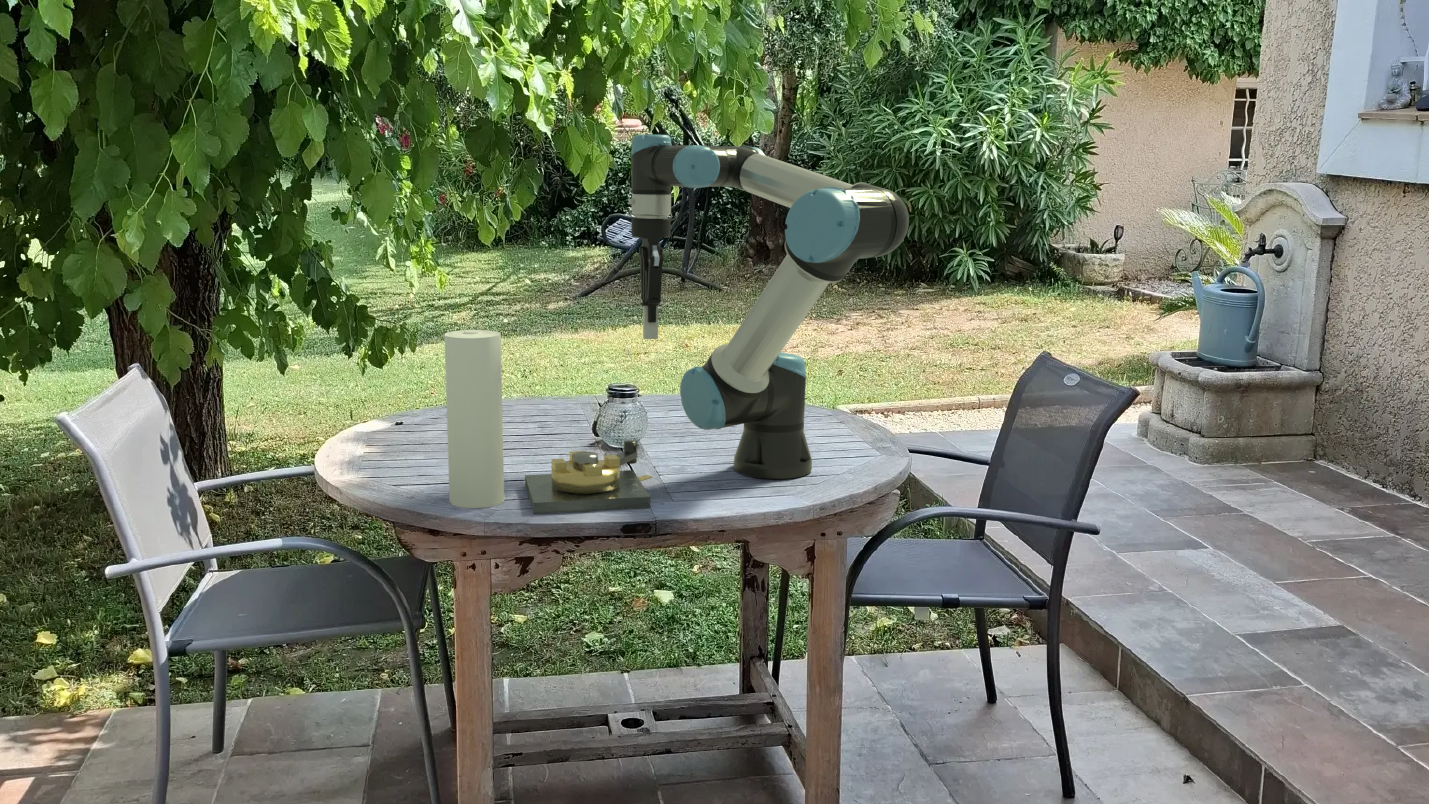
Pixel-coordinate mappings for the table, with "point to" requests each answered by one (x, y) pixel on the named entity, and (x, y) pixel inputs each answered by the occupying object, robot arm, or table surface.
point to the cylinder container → (474, 418)
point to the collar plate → (586, 495)
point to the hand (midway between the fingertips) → (650, 338)
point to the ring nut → (591, 470)
